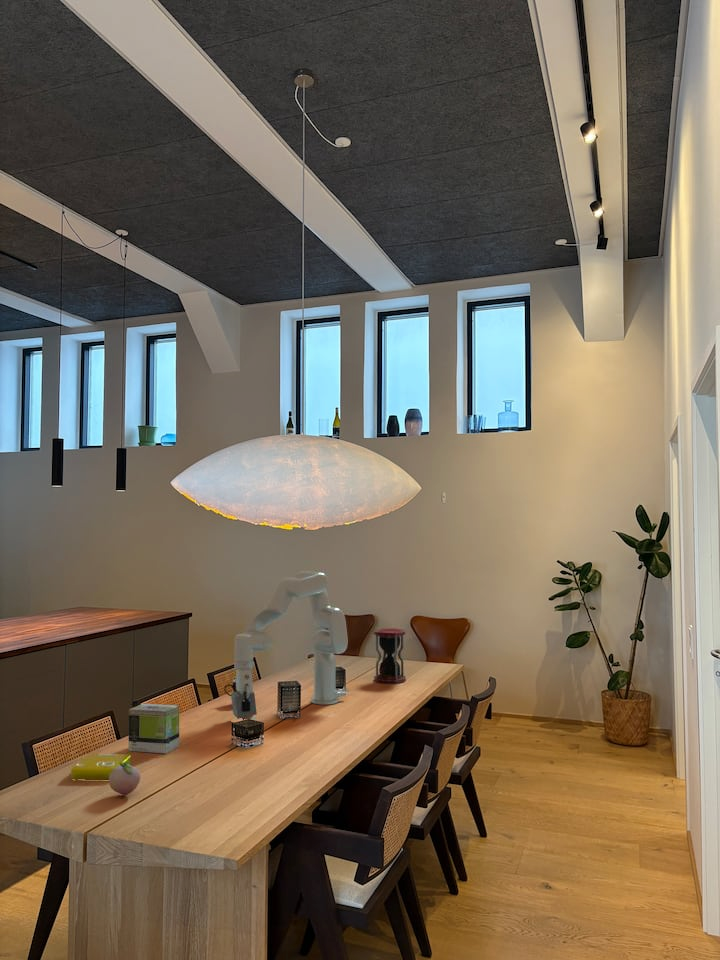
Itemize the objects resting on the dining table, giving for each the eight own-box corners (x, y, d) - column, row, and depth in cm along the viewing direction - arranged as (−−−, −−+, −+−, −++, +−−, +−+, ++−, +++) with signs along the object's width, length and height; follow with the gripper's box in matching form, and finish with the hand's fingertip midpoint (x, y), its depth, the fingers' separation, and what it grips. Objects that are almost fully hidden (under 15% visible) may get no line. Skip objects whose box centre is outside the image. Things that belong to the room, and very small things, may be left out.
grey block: (251, 709, 309) (249, 688, 309) (256, 714, 301) (254, 692, 302) (233, 714, 306) (230, 692, 306) (237, 718, 298) (235, 696, 299)
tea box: (180, 746, 270) (180, 704, 270) (165, 754, 260) (165, 711, 261) (142, 743, 274) (143, 702, 274) (127, 751, 264) (127, 708, 265)
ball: (238, 707, 306) (240, 720, 306) (241, 710, 301) (243, 723, 301) (251, 705, 307) (252, 717, 307) (253, 707, 303) (255, 720, 303)
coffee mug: (254, 701, 336) (254, 678, 336) (249, 706, 327) (249, 682, 328) (228, 700, 337) (228, 678, 337) (223, 705, 328) (223, 682, 329)
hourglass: (368, 678, 382) (368, 629, 384) (396, 676, 389) (396, 627, 390) (382, 685, 368) (382, 633, 369) (411, 682, 374) (411, 631, 376)
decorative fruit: (103, 795, 221) (103, 761, 222) (128, 788, 227) (129, 755, 228) (118, 804, 215) (118, 768, 215) (144, 796, 220) (144, 762, 221)
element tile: (132, 767, 248) (132, 752, 249) (116, 782, 233) (116, 767, 234) (88, 766, 249) (88, 751, 249) (68, 782, 234) (68, 766, 234)
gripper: (258, 668, 298) (257, 713, 297) (247, 660, 314) (247, 703, 313) (239, 669, 295) (239, 714, 294) (229, 661, 311) (229, 705, 310)
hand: (243, 708), depth 303 cm, fingers closed on grey block, 8 cm apart
